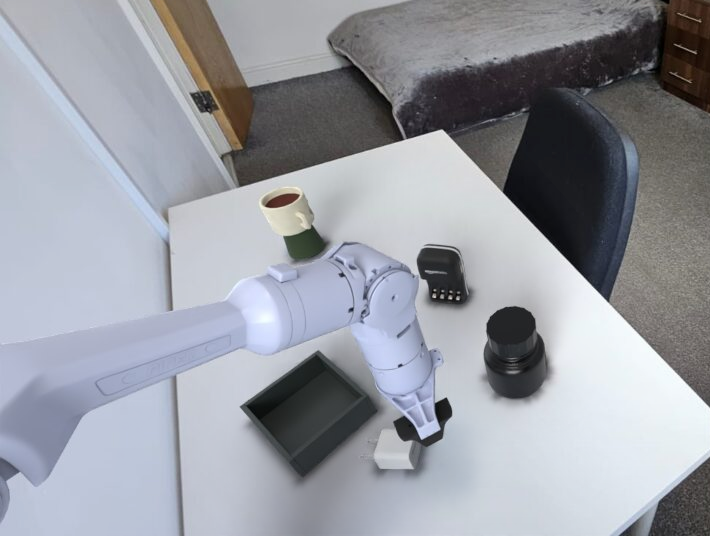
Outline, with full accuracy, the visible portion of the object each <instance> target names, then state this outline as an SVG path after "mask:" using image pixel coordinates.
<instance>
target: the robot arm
mask: <svg viewBox="0 0 710 536" xmlns="http://www.w3.org/2000/svg"><path fill="white" fill-rule="evenodd" d="M419 287H420V276H419V274H415V273H413V272H412V270H411V269H410V267H409V266H408V265H407V264H405V263H404V262H401V261H399V260H397V259H396V258H393V257H392V256H389V255H388V254H385V253H383V252H381V251H379V250H378V249H376V248H373V247H372V246H370V245H368V244H365V243H362V242H359V241H344V240H343V241H341V242H339V243H337V244H335V245H334V246H332V247H331V248H330V249H329V250H328V251H326V253H324V255H323V256H321V257H320V258H317V259H314V260H312V262H310V263H309V262H308V263H304V264H301V265H297V266H291V265H289V264H288V263H286V262H281V263H277V264H273V265H270V266H268V267H267V272H266V273H261V274H257V275H253V276H248V277H244V278H242V279H240V280H239V281H238V282H237V283H236V284H235V285H234V286H233V287H232V289H231V290H230V292H229V293H228V295H227V296H225V298H224V299H223V300H219V301H214V302H209V303H204V304H199V305H194V306H190V307H189V306H188V307H185V308H179V309H173V310H169V311H164V312H160V313H155V314H150V315H145V316H139V317H135V318H130V319H125V320H121V321H120V320H119V321H116V322H110V323H105V324H100V325H95V326H90V327H85V328H80V329H75V330H70V331H66V332H61V333H55V334H50V335H45V336H41V337H35V338H30V339H26V340H20V341H13V342H7V343H0V525H1V524H2V522H3V520H4V519H5V518H6V517H5V516H6V514H7V512H8V509H9V506H10V501H11V493H10V488H9V484H8V482H7V481H9V480H10V479H12V478H13V477H14V476H16V475H18V474H19V473H21V474H22V475H23V476H24V477H25V478H26V480H27V481H28V482H29V483H30V484H31V485H32V486H33V487H34V488H38V487H40V486H41V485H43V483H44V482H46V480H48V478H49V477H50V475H51V474H52V472H53V470H54V469H55V467H56V465H57V463H58V461H59V460H60V458H61V456H62V455H63V453H64V450H65V449H66V447H67V445H68V444H69V441H70V440H71V438H72V436H73V435H74V433H75V431H76V429H77V427H78V425H79V423H80V422H81V420H82V418H83V417H84V416H86V415H87V414H88V413H90V412H91V411H95V410H96V409H99V408H101V407H103V406H106V405H109V404H111V403H112V402H115V401H118V400H120V399H123V398H125V397H127V396H129V395H132V394H134V393H137V392H139V391H143V390H144V389H146V388H149V387H151V386H154V385H156V384H159V383H160V382H163V381H166V380H169V379H171V378H173V377H175V376H177V375H180V374H182V373H185V372H187V371H190V370H192V369H195V368H197V367H199V366H201V365H204V364H206V363H209V362H211V361H213V360H216V359H219V358H221V357H223V356H226V355H228V354H231V353H233V352H236V351H238V350H241V349H242V350H246V351H249V352H252V353H253V354H255V355H258V356H263V357H268V356H273V355H275V354H278V353H280V352H283V351H285V350H288V349H290V348H291V349H292V348H293V347H296V346H299V345H302V344H304V343H307V342H310V341H312V340H315V339H317V338H319V337H323V336H325V335H328V334H331V333H333V332H335V331H338V330H341V329H344V328H346V327H349V329H350V333H352V335H353V336H352V337H354V338H353V339H354V340H355V342H356V344H357V346H358V348H359V350H360V352H361V354H362V356H363V358H364V360H365V362H366V364H367V366H368V369H369V371H370V373H371V374H372V376H373V379H374V385H375V387H376V389H377V391H378V393H379V394H380V395H381V396H383V398H385V399H386V400H387V401H388V402H389V403H390V404H391V405H392V406H394V408H396V409H397V410H398V411H399V412H400V413H401V414H402V416H401V417H399V418H397V419H395V420H393V421H392V423H393V426H394V428H395V429H396V431H397V434H398V436H399V437H400V439H401V440H403V441H404V442H406V441H412V440H414V441H417V442H418V443H420V444H421V445H422V447H424V448H428V447H430V446H432V445H434V444H436V443H437V442H440V441H441V440H443V438H444V435H445V426H446V424H447V422H448V421H449V420H450V419H451V418H452V417H453V407H452V405H451V403H450V401H449V399H448V397H447V396H446V397H444V398H441V399H440V400H438V401H436V370H437V368H439V367H441V366H442V365H443V364H444V363H445V361H444V357H443V355H442V353H441V351H440V349H439V348H432V349H430V350H429V349H428V346H427V343H426V340H425V338H424V333H423V331H422V328H421V325H420V322H419V320H418V315H417V313H418V310H417V308H416V298H417V296H418V292H419Z"/></svg>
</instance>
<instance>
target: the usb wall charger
mask: <svg viewBox="0 0 710 536" xmlns="http://www.w3.org/2000/svg"><path fill="white" fill-rule="evenodd" d="M364 442H365V443H376V446H375V449H374V452H373V453H372V454H369V453H368V454H366V453H364V454H363V453H362V454H358V457H359V458H360V459H373V460H374V462H375V463H376V465H377V467H378V468H379V469H380V470H415V469H416V468H417V465H418V461H419V457H420V453H421V450H422V447H423V445H421V444H420V443H418V442H417V441H414V440H412V441H406V442H404V441H403V440H401V439H400V437H399V436H398V434H397V431H396V429H395V427H393V428H392V427H389V428H388V427H383V428H382V429H381V432H380V435H379V437H378V438H364Z"/></svg>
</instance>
